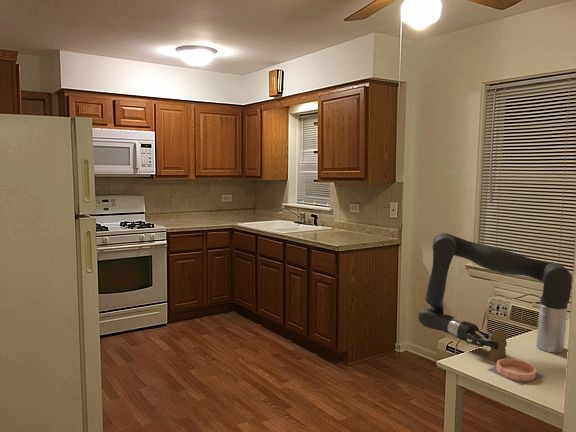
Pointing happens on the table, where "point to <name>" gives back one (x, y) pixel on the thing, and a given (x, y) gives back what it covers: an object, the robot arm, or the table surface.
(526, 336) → the table surface
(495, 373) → the mat
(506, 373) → the bowl
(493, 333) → the pepper mill
